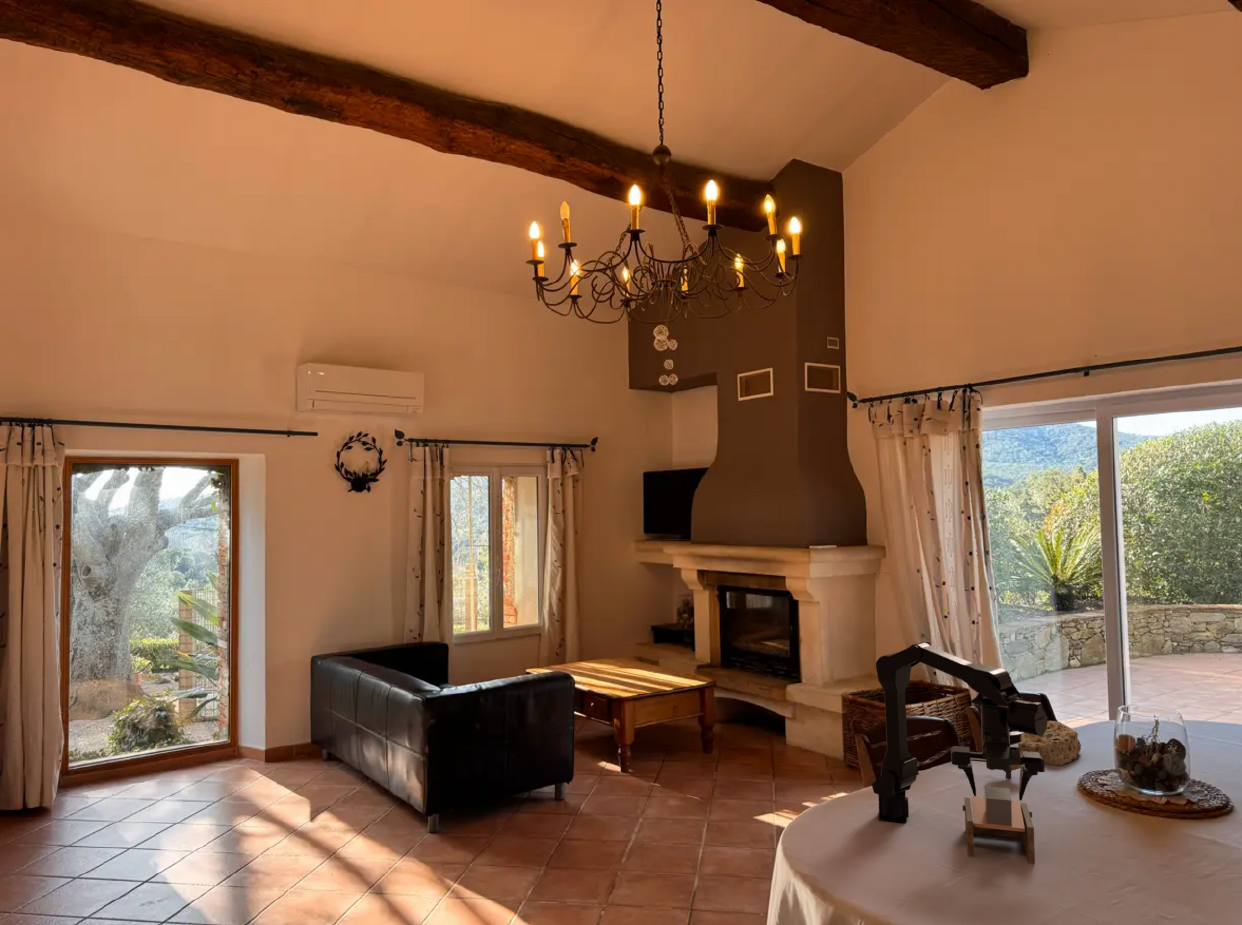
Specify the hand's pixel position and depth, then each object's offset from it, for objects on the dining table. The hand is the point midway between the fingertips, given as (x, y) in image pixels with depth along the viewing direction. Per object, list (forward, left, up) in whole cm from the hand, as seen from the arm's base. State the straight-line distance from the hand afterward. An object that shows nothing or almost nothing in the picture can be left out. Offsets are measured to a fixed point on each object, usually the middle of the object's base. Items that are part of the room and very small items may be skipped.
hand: (997, 797), depth 191 cm
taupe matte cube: (0, 0, -4) cm, 4 cm away
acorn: (+6, +50, -12) cm, 52 cm away
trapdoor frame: (0, +2, -12) cm, 12 cm away
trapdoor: (0, +4, -9) cm, 10 cm away
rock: (+20, +78, -12) cm, 81 cm away
